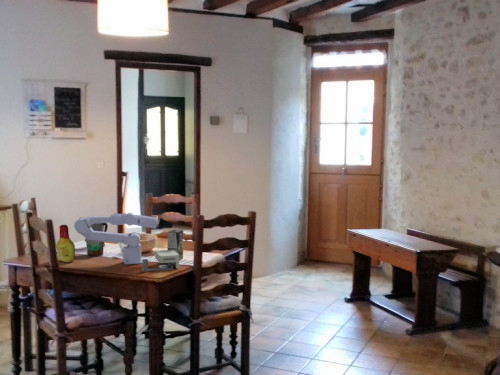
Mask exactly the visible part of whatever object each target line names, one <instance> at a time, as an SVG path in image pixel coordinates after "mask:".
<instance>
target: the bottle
mask: <svg viewBox="0 0 500 375" xmlns="http://www.w3.org/2000/svg"><path fill="white" fill-rule="evenodd" d="M69 232H70V231H69V227H68V225H67V224H61V225H60V226H59V239H58V241H57V242H56V245H55V251H56V250H57V254H56V257H57V256H58V261H59V262H60V261H61V262H64V263H71V262H73V261H75V259H76V245H75V244H74V242H73V240H71V238H70V234H69Z"/></svg>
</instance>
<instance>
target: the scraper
mask: <svg viewBox="0 0 500 375" xmlns="http://www.w3.org/2000/svg"><path fill="white" fill-rule="evenodd" d="M142 262H143V263H142V272H143V273H146V272H147V273H148V272H157V271H158V272H159V271H172V270H174V266H173V265H172V263H171V262H168V263H167V265H168V266H169V267H168V268H159V267H158V268H149V259H148V258H143V259H142Z"/></svg>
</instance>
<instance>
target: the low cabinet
mask: <svg viewBox="0 0 500 375" xmlns="http://www.w3.org/2000/svg"><path fill="white" fill-rule="evenodd" d="M154 258H155V259H156V261H157V262H158V263H159V264H164V263H167V264H168V262H170V263H171V264H172V265H173V268H175V269H180V261H179V255H178V254H177V253H176V252H175V251H174V250H168V249H163V250H154Z"/></svg>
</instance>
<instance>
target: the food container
mask: <svg viewBox="0 0 500 375" xmlns="http://www.w3.org/2000/svg"><path fill="white" fill-rule="evenodd" d="M84 242H85V243H86V244H85V245H86V246H85V247H86V253H87V254H86V256H89V257H101V256H103V255H104V248H105V246H104V243H105V242H106V241H98V240H89V239H87V238H85V237H84Z"/></svg>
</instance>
